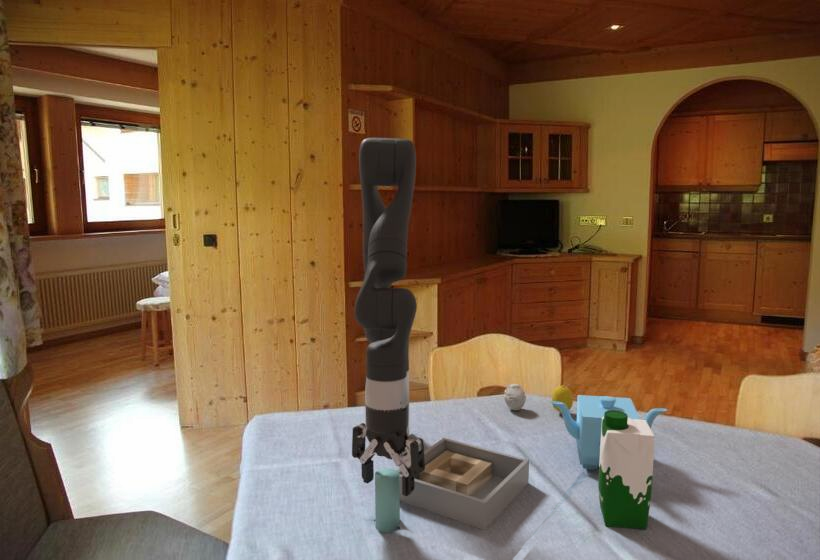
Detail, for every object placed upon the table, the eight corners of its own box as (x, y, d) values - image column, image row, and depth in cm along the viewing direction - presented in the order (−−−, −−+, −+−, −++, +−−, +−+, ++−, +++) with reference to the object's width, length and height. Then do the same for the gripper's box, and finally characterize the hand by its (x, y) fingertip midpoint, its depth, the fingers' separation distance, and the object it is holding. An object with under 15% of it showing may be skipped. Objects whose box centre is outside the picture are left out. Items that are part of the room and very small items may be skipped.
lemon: (573, 418, 158) (574, 389, 157) (551, 416, 160) (552, 388, 158) (571, 410, 164) (572, 382, 163) (551, 409, 165) (552, 381, 164)
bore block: (419, 484, 122) (419, 470, 121) (446, 463, 131) (446, 450, 130) (467, 499, 116) (467, 484, 115) (491, 476, 125) (492, 462, 124)
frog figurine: (520, 404, 169) (521, 380, 168) (529, 413, 162) (530, 388, 161) (500, 405, 168) (500, 381, 167) (508, 414, 161) (508, 390, 160)
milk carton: (594, 503, 116) (599, 404, 113) (643, 507, 114) (649, 407, 111) (600, 528, 107) (605, 422, 104) (653, 533, 106) (660, 425, 103)
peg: (370, 527, 108) (370, 475, 106) (385, 516, 111) (384, 466, 110) (390, 535, 105) (390, 482, 104) (404, 523, 109) (404, 472, 107)
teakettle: (598, 437, 146) (601, 379, 144) (668, 466, 131) (672, 402, 129) (544, 456, 136) (545, 394, 134) (612, 490, 121) (616, 421, 118)
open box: (391, 502, 116) (391, 473, 115) (443, 463, 133) (443, 437, 132) (484, 534, 105) (485, 503, 104) (528, 487, 122) (529, 459, 121)
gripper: (341, 399, 105) (343, 485, 108) (408, 415, 98) (409, 508, 100) (367, 388, 112) (368, 470, 114) (432, 402, 104) (432, 489, 106)
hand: (387, 487), depth 107 cm, fingers open, 8 cm apart
